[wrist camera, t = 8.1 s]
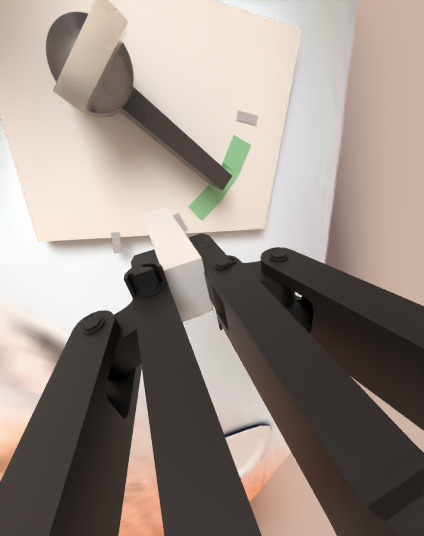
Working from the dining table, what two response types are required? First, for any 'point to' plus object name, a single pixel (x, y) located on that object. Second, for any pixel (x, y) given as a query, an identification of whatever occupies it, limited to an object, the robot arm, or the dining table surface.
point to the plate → (248, 447)
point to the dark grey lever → (115, 82)
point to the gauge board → (133, 137)
